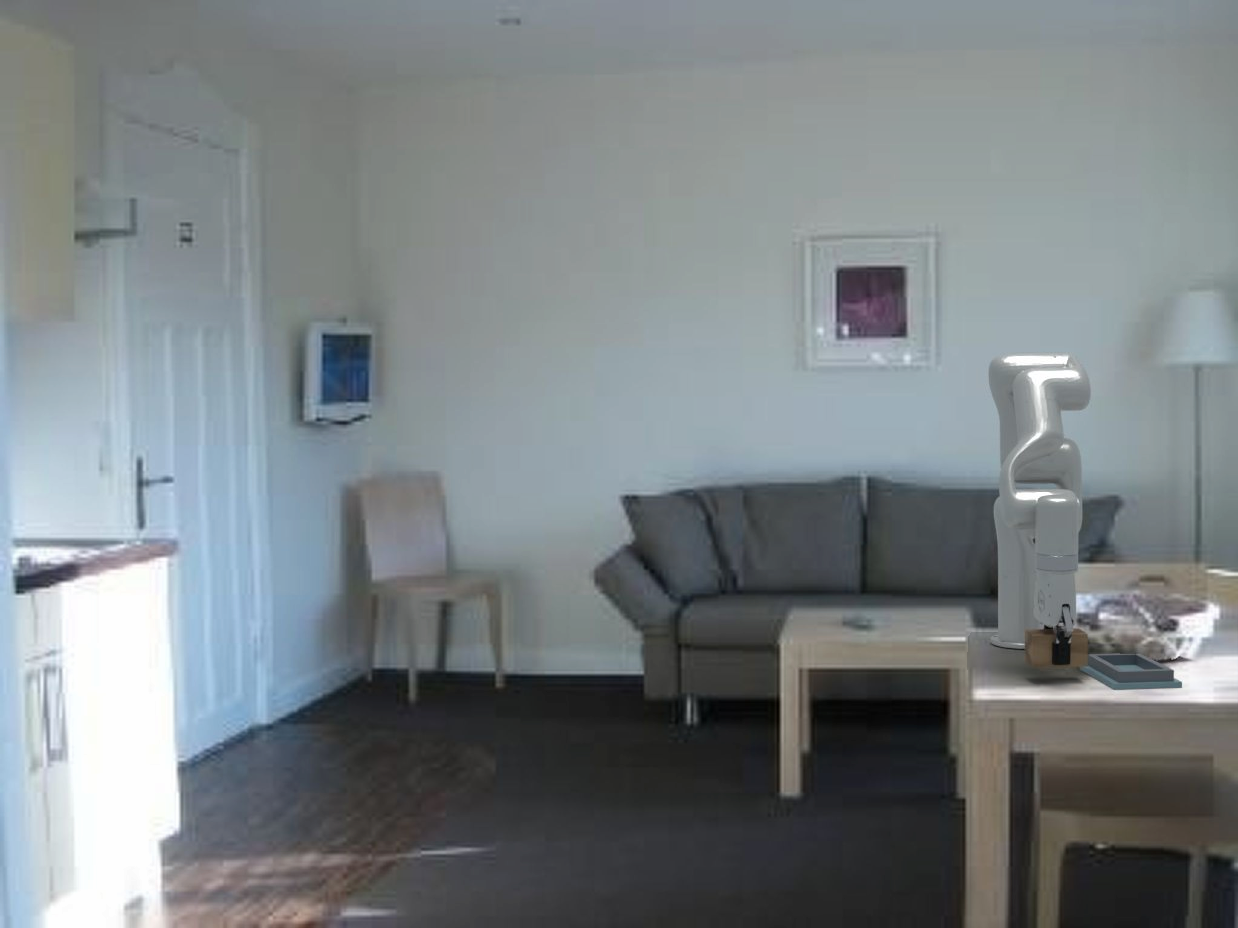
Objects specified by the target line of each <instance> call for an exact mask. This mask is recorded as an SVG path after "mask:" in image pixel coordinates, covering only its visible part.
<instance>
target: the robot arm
mask: <svg viewBox="0 0 1238 928" xmlns="http://www.w3.org/2000/svg"><path fill="white" fill-rule="evenodd" d="M988 384H989V389H990V390H989V391H990V393H991V396H992V398H993V402H994V404H995V407H996V409H997V413H998V414H997V415H998V418H999V419H998V420H999V456H1000V457H999V461H1000V463H999V464H1000V473H999V478H998V490H999V492H998V493H999V496H998V497H997V498H996V500H995V501H994V504H993V520H994V527H995V532H996V541H997V571H998V572H997V577H998V578H997V591H998V592H997V597H998V598H997V624H998V625H997V629H998V630H997V633H996V634H993V635H991V636H990V644H991V645H994V646H997V647H1002V648H1007V649H1015V650H1016V649H1017V650H1025V630H1031V629H1053V633H1054V642H1055V643H1052V664H1053V665H1069V664H1070V651H1071V636H1072V632H1073V628H1074V626H1075V625H1076V622H1077V621H1076V620H1077V593H1076V592H1077V590H1076V577H1075V574H1076V573H1078V572H1079V533H1080V531H1081V530H1082V523H1083V484H1082V483H1083V481H1082V480H1083V476H1082V475H1083V474H1082V473H1083V472H1082V457H1081V452H1080V449H1079V446H1078V444H1077V443H1076V442H1075V440H1072V439H1071V438H1067V437H1065V433H1064V428H1063V427H1064V426H1063V425H1064V424H1063V421H1062V420H1063V419H1062V412H1063V411H1065V412H1066V411H1074V412H1075V411H1084V410H1085V409H1086V408H1087V407H1088V406H1089V404H1090V401H1091V397H1092V396H1091V391H1092V390H1091V382H1090V378H1089V374H1088V373H1087V371H1086V368H1085V367H1084V366H1083V364H1082V363H1081V361H1080V360H1079V359H1078V357H1077V356H1076V355H1075V354H1074V353H1072V352H1066V351H1065V352H1062V351H1061V352H1059V351H1057V352H1056V351H1055V352H1011V353H1005V354H1004V353H1003V354H1000V355H997V356H995V357H994V358H992V360H991V361H990V363H989V367H988ZM1016 485H1054V486H1056V488H1055V489H1054V488H1049V489H1048V488H1029V489H1028V488H1027V489H1025V488H1021V489H1017V488H1016ZM1034 539H1035V542H1034ZM1061 623H1062V625H1060V624H1061ZM1058 630H1063V631H1060V634H1059V633H1058Z"/></svg>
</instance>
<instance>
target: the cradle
mask: <svg viewBox="0 0 1238 928" xmlns="http://www.w3.org/2000/svg"><path fill="white" fill-rule="evenodd" d="M1079 670H1080V671H1081V672H1083V673H1085V674H1087V675H1089V676H1090V677H1092V678H1093V679H1095V680H1097V681H1098V682H1100V683H1102V684H1104V685H1105V686H1107V687H1109V688H1111V689H1112V690H1142V689H1146V690H1147V689H1171V688H1172V689H1173V688H1175V689H1177V688H1179V689H1180V688H1183V681H1181V680H1179V679H1177V678H1175V670H1174V669H1172V668H1170V667H1168V666H1166V665H1164V664H1162V663H1161V662H1159V661H1155V660H1154V659H1152V658H1150V657H1149V656H1148V657H1146V656H1144V655H1142V654H1120V653H1093V654H1092V653H1090V654H1089V653H1087V667H1079Z"/></svg>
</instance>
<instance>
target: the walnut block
mask: <svg viewBox="0 0 1238 928" xmlns="http://www.w3.org/2000/svg"><path fill="white" fill-rule="evenodd" d="M1060 631H1063V630H1058V633H1059V634H1060ZM1088 638H1089V635H1088V633H1087V632H1085V631H1083V630H1082V629H1081V628H1074V627H1073V632H1072V636H1071V651H1070V664H1069V665H1053V664H1052V643H1055V642H1054V633H1053V629H1031V630H1025V649H1024V662H1025V663H1026V664H1027V665H1028V666H1030V667H1031V668H1032V669H1045V668H1047V669H1049V668H1051V669H1052V668H1078V667H1079V668H1080V667H1087V654H1088V647H1089V645H1088V644H1089V643H1088V640H1089V639H1088Z"/></svg>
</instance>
